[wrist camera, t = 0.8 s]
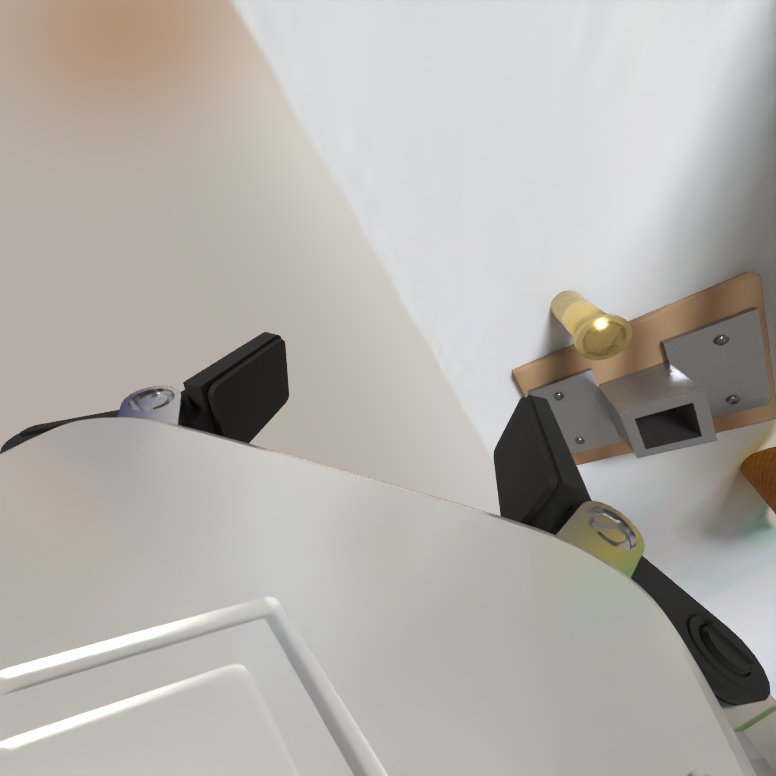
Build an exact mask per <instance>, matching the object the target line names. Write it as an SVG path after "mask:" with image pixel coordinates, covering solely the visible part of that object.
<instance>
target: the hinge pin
mask: <svg viewBox="0 0 776 776" xmlns="http://www.w3.org/2000/svg"><path fill="white" fill-rule="evenodd" d="M551 312H552V313H553V315H554V316H555V317H556V318H557V319H558V320H559V321H560V323H561V324H562V325H563V326H564V327H565V328H566V330H567V331H568V332H569V333H570V334H571V335H572V337H573V338H574V345H575V348H576V349H577V351H578V352H579V353H580V354H581V355H582V356H583V357H585V358H587V359H590V360H605V359H608V358H611V357H613V356H615V355H617V354H619V353H620V352H622V351H623V350H624V349H625V348H626V347H627V345H628V344H629V342H630V340H631V338H632V328H631V325H630V324H629V323H628V322H627V321H626V320H625V319H623V318H622V317H620V316H618V315H614V314H606V313H605V312H603V311H602V310H601V309H599V308H598V307H596V306H595V305H594V304H592V303H591V302H590V301H588V300H587V299H585V298H584V297H583V296H581V295H580V294H579V293H577V292H575V291H564V292H562V293H560V294H558V295H557V296H556V297H555V298H554V299H553V301H552V303H551Z"/></svg>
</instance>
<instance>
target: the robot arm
mask: <svg viewBox="0 0 776 776" xmlns="http://www.w3.org/2000/svg"><path fill="white" fill-rule="evenodd" d="M183 384H184V387H185V390H184V391H182V392H180V391H179V390H178V389H177V388H174V387H172V386H153V387H148V388H144V389H141V390H138V391H136V392H134V393H132V394H130V395H129V396H128V397H126V398H125V399H124V400H123V402H122V403H121V407H120V409H119V410H116V411H110V412H105V413H100V414H94V415H89V416H83V417H78V418H73V419H68V420H62V421H56V422H51V423H46V424H39V425H35V426H32V427H30V428H27V429H25V430H24V431H22V432H20V433H19V434H17V435H15V436H14V437H12V438H11V439H10V440H8V441H7V442H6V443H5V444H4V445H3V447H2V448H1V451H0V776H776V700H775V699H774V698H773V697H772V696H771V695H770V685H769V681H768V678H767V676H766V674H765V671H764V669H763V668H762V666H761V664H760V663H759V661H758V660H757V658H756V657H755V655H754V654H753V653H752V652H751V650H750V649H749V648H748V647H747V646H746V645H745V643H744V642H743V641H742V640H741V639H740V638H739V637H738V636H737V635H736V634H735V633H734V632H732V631H731V630H730V629H729V628H728V627H727V626H726V625H725V624H723V623H722V622H721V621H720V620H719V619H717V618H716V617H715V616H714V615H713V614H711V613H710V612H709V611H708V610H707V609H705V608H704V607H703V606H702V605H701V604H699V603H698V602H697V601H696V600H695V599H693V598H692V597H691V596H690V595H689V594H687V593H686V592H685V591H684V590H683V589H681V588H680V587H679V586H678V585H677V584H675V583H674V582H673V581H672V580H671V579H669V578H668V577H667V576H666V575H665V574H663V573H662V572H661V571H660V570H659V569H657V568H656V567H655V566H654V565H653V564H651V563H650V562H649V561H648V560H647V559H645V558H644V557H643V556H642V554H643V552H644V542H643V539H642V536H641V535H640V533H639V531H638V530H637V528H636V527H635V526H634V525H633V524H632V523H631V521H630V520H629V519H627V518H626V517H625V516H624V515H623V514H621V513H620V512H619V511H617V510H616V509H614V508H612V507H611V506H608V505H606V504H604V503H601V502H596V501H591V498H590V496H589V494H588V492H587V489H586V487H585V484H584V482H583V480H582V478H581V475H580V473H579V471H578V468H577V466H576V464H575V462H574V459H573V457H572V455H571V453H570V450H569V448H568V446H567V443H566V441H565V439H564V437H563V434H562V432H561V430H560V427H559V425H558V423H557V421H556V418H555V416H554V414H553V412H552V409H551V407H550V405H549V402H548V400H547V399H546V398H542V397H537V396H533V395H528V396H527V397H526V398H525V397H522V398H521V399H520V401H519V403H518V405H517V407H516V409H515V411H514V413H513V414H512V416H511V418H510V420H509V422H508V424H507V426H506V428H505V430H504V432H503V434H502V436H501V438H500V440H499V442H498V444H497V446H496V448H495V450H494V464H495V472H496V480H497V489H498V497H499V505H500V512H501V516H498V515H495V514H491V513H488V512H484V511H481V510H478V509H475V508H471V507H468V506H465V505H461V504H458V503H455V502H451V501H448V500H444V499H441V498H437V497H434V496H431V495H427V494H423V493H420V492H417V491H413V490H410V489H407V488H403V487H399V486H396V485H393V484H389V483H386V482H382V481H378V480H375V479H372V478H368V477H365V476H361V475H358V474H354V473H351V472H347V471H344V470H340V469H336V468H333V467H330V466H326V465H323V464H319V463H316V462H312V461H309V460H305V459H302V458H298V457H295V456H291V455H287V454H284V453H280V452H277V451H273V450H269V449H266V448H262V447H259V446H255V445H252V444H249V443H250V441H251V440H252V439H253V438H254V437H255V436H256V435H257V434H258V433H259V432H260V430H261V429H262V428H263V427H264V426H265V425H266V424H267V423H268V422H269V421H270V420H271V418H272V417H273V416H274V415H275V414H276V413H277V412H278V411H279V409H280V408H281V407H282V406H283V405H284V404H285V403H286V402H287V400H288V397H289V388H288V375H287V362H286V349H285V342H284V340H282V339H281V337H280V336H279V335H275V334H271V333H267V332H264V333H262V334H261V335H259V336H257V337H256V338H254V339H252V340H251V341H249V342H248V343H246V344H244V345H243V346H241V347H239V348H238V349H236V350H235V351H233V352H231V353H230V354H228V355H227V356H225V357H223V358H222V359H220V360H219V361H217V362H215V363H214V364H212V365H211V366H209V367H207V368H206V369H204V370H202V371H201V372H199V373H198V374H196V375H194V376H193V377H191V378H190V379H188V380H186V381H185V382H184V383H183Z"/></svg>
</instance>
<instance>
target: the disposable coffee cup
mask: <svg viewBox="0 0 776 776" xmlns="http://www.w3.org/2000/svg"><path fill="white" fill-rule="evenodd" d="M741 470H742V473H743V474H744V476H745V477H746V478H747V479H748V480H749V481H750V483H751V484H752V485H753V486H754V488H755V489H756V490H757V491H758V493H759V494H760V495H761V496H762V498H763V499H764V500H765V501H766V503H767V504H768V505H769V506H770V508H771V509H772V510H773V511H774V512H775V514H776V447H773V448H768V449H765V450H762V451H760V452H757V453H755V454H754V455H752V456H750V457H749V458H748V459H746V461H745V462H744V463H743V465H742V469H741Z"/></svg>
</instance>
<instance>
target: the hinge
mask: <svg viewBox="0 0 776 776" xmlns="http://www.w3.org/2000/svg"><path fill="white" fill-rule="evenodd" d="M660 342H661V345H662V349H663V352H664V355H665V359H666V361H665V362H662V363H659V364H657V365H654V366H651V367H648V368H645V369H642V370H639V371H636V372H633V373H630V374H627V375H624V376H621V377H619V378H616V379H613V380H610V381H607V382H604V383H601V384H598V383H597V381H596V378H595V376H594V374H593V371H592V369H591V368H587V369H584V370H581V371H579V372H576V373H573V374H571V375H568V376H565V377H563V378H560V379H557V380H555V381H552V382H549V383H546V384H544V385H541V386H538V387H536V388H533V389H530V390H529V393H530V395H533V396H537V397H542V398H546V399H547V400H548V402H549V405H550V407H551V409H552V412H553V414H554V416H555V418H556V421H557V423H558V425H559V427H560V430H561V432H562V434H563V437H564V439H565V441H566V443H567V446H568V448H569V450H570V453H571V454H574V453H578V452H582V451H586V450H590V449H594V448H598V447H602V446H606V445H610V444H614V443H618V442H621V440H620V438H619V435H618V433H617V430H618V432H619V433H620V435H621V436H622V437H623V439H624V440H625V442H626V443H627V445H628V446H629V447H630V449H631V450H632V452H633V453H634V455H635V456H636V457H637V458H640V457H645V456H649V455H654V454H658V453H663V452H667V451H672V450H676V449H680V448H685V447H689V446H694V445H698V444H703V443H707V442H712V441H716V440H717V438H716V433H715V429H714V425H713V421H712V419H713V418H717V417H721V416H725V415H729V414H733V413H737V412H741V411H745V410H749V409H753V408H757V407H761V406H765V405H769V404H771V399H770V391H769V384H768V376H767V369H766V361H765V354H764V347H763V339H762V332H761V324H760V317H759V309H758V308H755V307H751V308H748V309H746V310H743V311H740V312H738V313H735V314H732V315H729V316H727V317H724V318H721V319H719V320H716V321H713V322H711V323H708V324H705V325H703V326H700V327H697V328H694V329H692V330H689V331H686V332H684V333H681V334H678V335H676V336H673V337H670V338H668V339H665V340H662V341H660ZM615 427H616V428H615ZM616 429H617V430H616Z"/></svg>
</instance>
